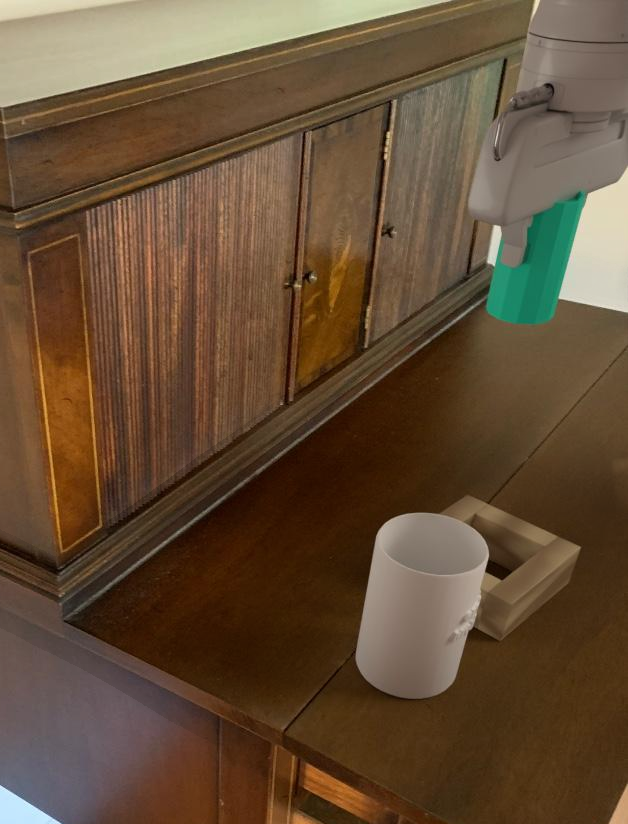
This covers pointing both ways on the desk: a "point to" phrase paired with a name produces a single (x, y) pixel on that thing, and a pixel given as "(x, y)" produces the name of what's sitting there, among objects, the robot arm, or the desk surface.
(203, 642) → the desk surface
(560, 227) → the candle
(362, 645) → the mug
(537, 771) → the desk surface
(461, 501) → the frame
